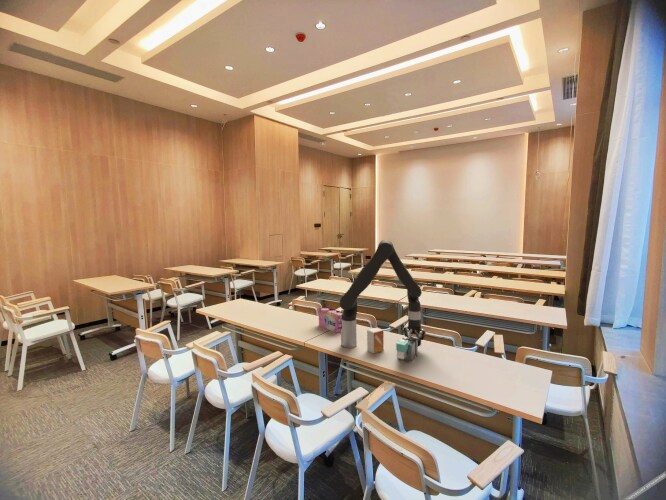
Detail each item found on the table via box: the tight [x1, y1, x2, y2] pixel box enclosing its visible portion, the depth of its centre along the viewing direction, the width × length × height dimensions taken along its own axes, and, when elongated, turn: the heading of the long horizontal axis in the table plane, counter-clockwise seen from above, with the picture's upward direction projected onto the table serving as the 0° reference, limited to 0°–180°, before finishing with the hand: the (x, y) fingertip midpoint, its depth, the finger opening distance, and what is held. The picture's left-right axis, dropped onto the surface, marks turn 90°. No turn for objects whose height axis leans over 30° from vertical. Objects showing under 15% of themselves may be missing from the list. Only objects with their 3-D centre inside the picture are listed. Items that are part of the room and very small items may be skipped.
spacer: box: [395, 340, 408, 352], centre depth 171 cm, size 5×5×4 cm
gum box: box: [317, 306, 343, 333], centre depth 232 cm, size 24×8×14 cm, turn 37°
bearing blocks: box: [396, 336, 419, 363], centre depth 178 cm, size 9×10×10 cm
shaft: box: [396, 335, 418, 360], centre depth 179 cm, size 5×24×5 cm, turn 146°
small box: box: [366, 327, 385, 354], centre depth 188 cm, size 8×6×13 cm
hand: (414, 344), depth 188 cm, fingers closed on shaft, 5 cm apart
